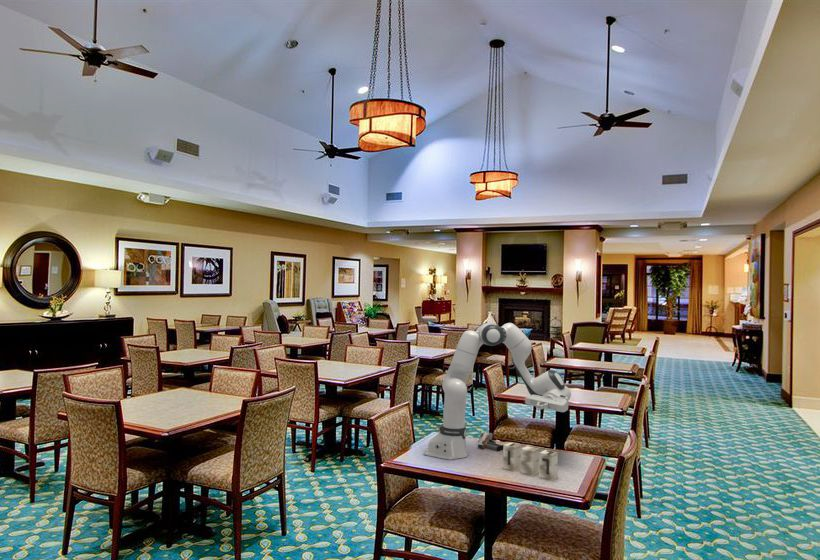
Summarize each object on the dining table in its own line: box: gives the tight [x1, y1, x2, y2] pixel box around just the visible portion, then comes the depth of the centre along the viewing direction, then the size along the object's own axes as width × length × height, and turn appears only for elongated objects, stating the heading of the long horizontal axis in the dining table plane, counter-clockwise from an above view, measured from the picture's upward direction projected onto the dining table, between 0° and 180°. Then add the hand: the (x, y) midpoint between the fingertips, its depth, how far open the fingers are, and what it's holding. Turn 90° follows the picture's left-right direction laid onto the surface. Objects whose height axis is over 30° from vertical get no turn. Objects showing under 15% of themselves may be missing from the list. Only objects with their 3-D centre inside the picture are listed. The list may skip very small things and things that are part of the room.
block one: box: [502, 441, 522, 472], centre depth 241 cm, size 6×6×11 cm
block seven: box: [538, 449, 559, 482], centre depth 229 cm, size 6×6×11 cm
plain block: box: [520, 445, 540, 477], centre depth 235 cm, size 6×6×11 cm
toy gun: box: [477, 432, 504, 452], centre depth 282 cm, size 3×29×15 cm
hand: (538, 407), depth 245 cm, fingers closed
